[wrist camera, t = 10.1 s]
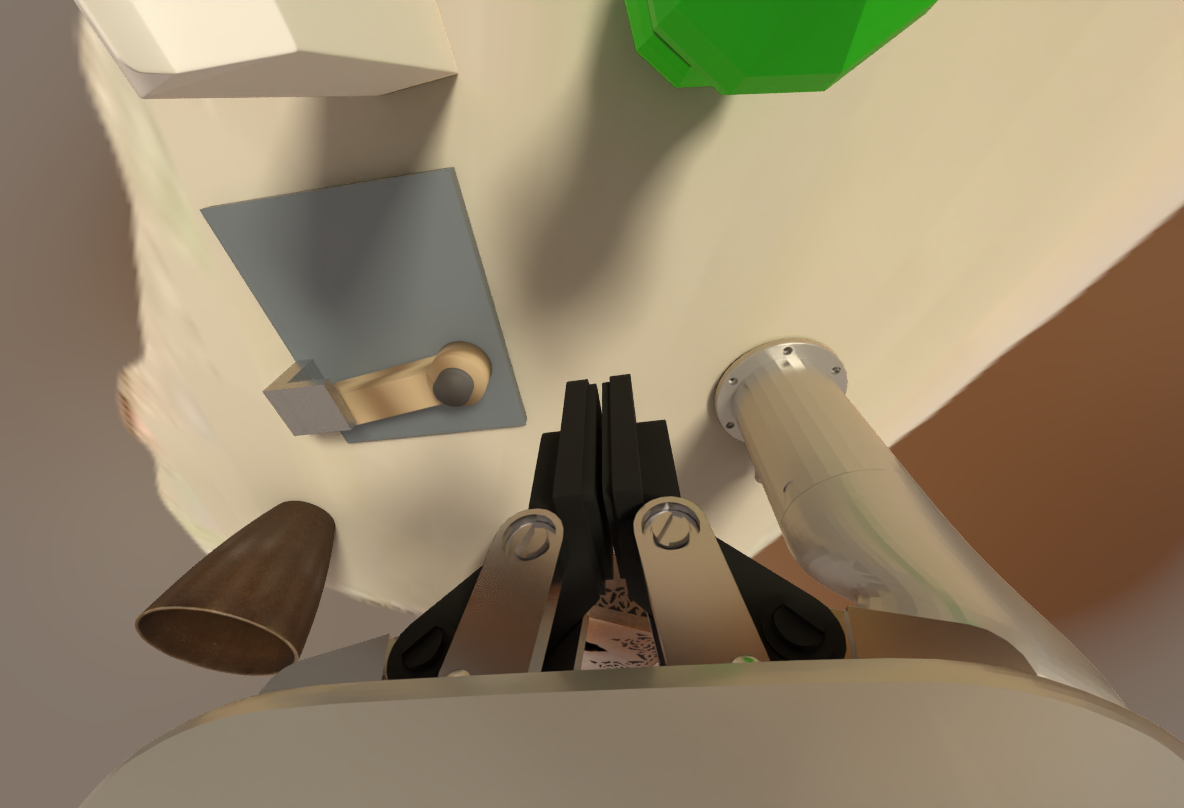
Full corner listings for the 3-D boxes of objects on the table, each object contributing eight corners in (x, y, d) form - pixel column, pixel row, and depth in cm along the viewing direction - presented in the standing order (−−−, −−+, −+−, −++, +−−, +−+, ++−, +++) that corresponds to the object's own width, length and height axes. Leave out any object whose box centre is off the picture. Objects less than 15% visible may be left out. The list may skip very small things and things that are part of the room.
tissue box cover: (476, 576, 64) (458, 645, 56) (505, 520, 56) (489, 591, 48) (628, 615, 70) (632, 682, 62) (673, 569, 62) (684, 640, 54)
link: (477, 334, 38) (465, 359, 35) (500, 381, 41) (491, 408, 38) (330, 375, 41) (305, 401, 38) (362, 416, 44) (341, 444, 41)
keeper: (380, 390, 44) (351, 430, 39) (329, 396, 44) (294, 435, 39) (358, 347, 41) (323, 384, 36) (304, 354, 41) (262, 391, 36)
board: (527, 418, 46) (525, 425, 45) (352, 436, 48) (347, 443, 47) (453, 166, 32) (449, 169, 31) (210, 206, 34) (199, 209, 33)
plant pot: (385, 546, 60) (326, 671, 47) (293, 558, 62) (211, 681, 49) (323, 471, 51) (229, 600, 38) (218, 489, 53) (95, 616, 40)
